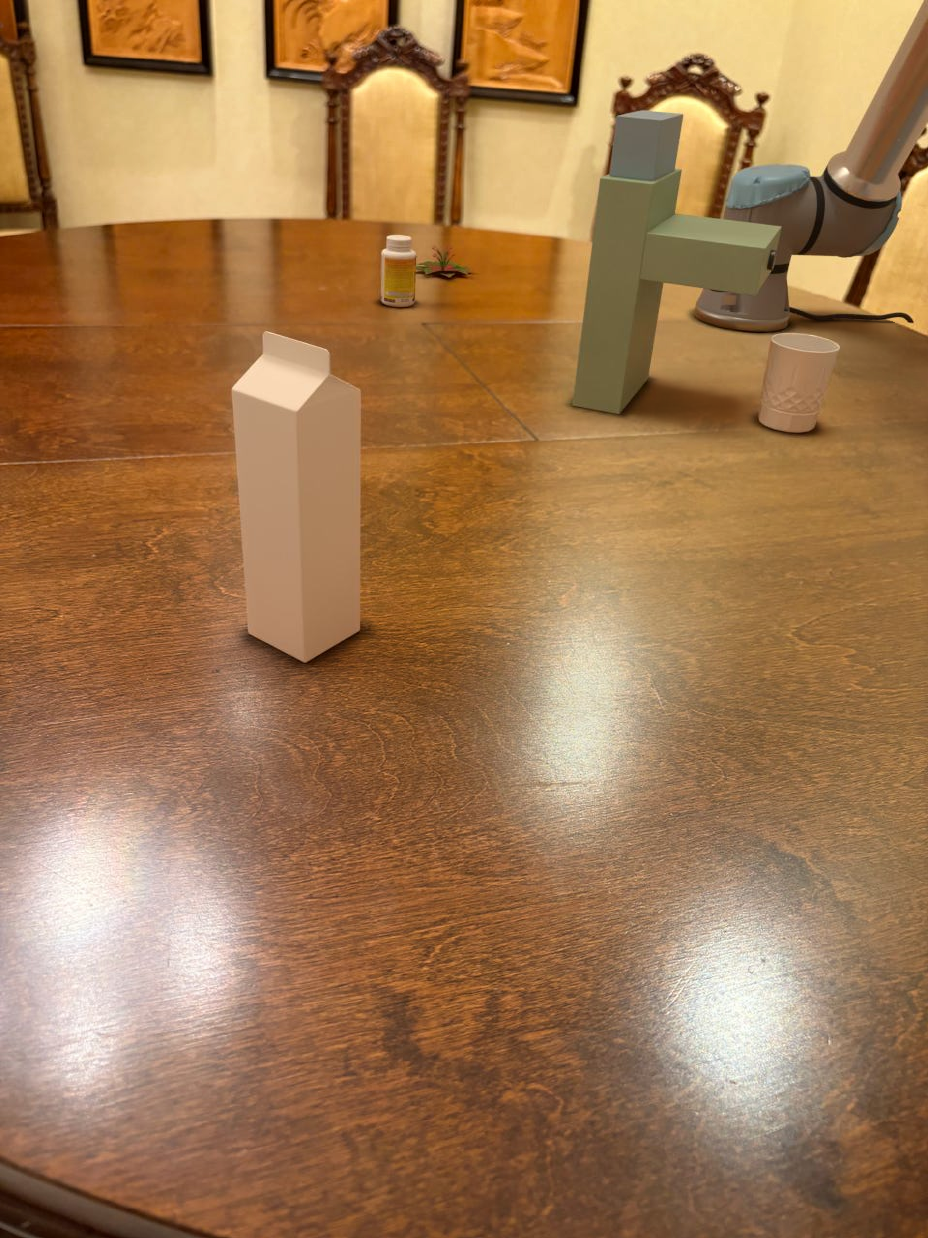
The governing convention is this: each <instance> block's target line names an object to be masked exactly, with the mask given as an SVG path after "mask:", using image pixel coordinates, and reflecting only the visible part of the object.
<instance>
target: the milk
mask: <svg viewBox="0 0 928 1238" xmlns="http://www.w3.org/2000/svg"><path fill="white" fill-rule="evenodd" d="M231 402H232V417H233V418H232V419H233V432H234V447H235V460H236V461H235V463H236V475H237V476H236V478H237V490H238V504H239V516H240V517H239V518H240V519H239V520H240V534H241V549H242V561H243V577H244V579H243V580H244V591H245V592H244V593H245V607H246V620H247V621H246V622H247V632H248V634H249V635H251V636H252V637H255V638H256V639H258V640H260V641H262V642H264V643H266V644H268V645H270V646H272V647H273V648H276V649H277V650H279V651H281V652H283V653H285V654H287V655H289V656H290V657H292V658H295V659H296V660H299V661H301V662H302V663H307V662H309V661H311V660H313V659H315V658H317V656H319V655H321V654H323V653H324V652H326V651H328V650H330V649H331V648H333V647H334V646H337V645H338V644H340V643H342V641H345V640H346V639H348V638H350V637H352V636H353V635H355V634H356V633H358V632H360V630H361V493H362V492H361V488H362V487H361V486H362V485H361V484H362V483H361V481H362V480H361V479H362V478H361V474H362V473H361V471H362V470H361V469H362V466H361V464H362V462H361V460H362V459H361V458H362V455H361V454H362V453H361V451H362V447H361V446H362V443H361V441H362V419H361V418H362V390H361V389H360V388H358V387H357V386H354V385H352V384H351V383H348V382H347V381H345V380H344V379H341V378H339V377H337V376H335V375H333V374H331V354H330V351H329V350H328V349H327V348H323V347H320V346H317V345H314V344H310V343H307V342H303V341H301V340H297V339H293V338H290V337H287V336H284V335H280V334H277V333H274V332H270V331H263V333H262V354H261V355H260V356H259V357H258V359H256V361H255V362H254V363H253V364H252V365H251V366H250V367H249V368H248V370H246V371H245V373H244V374H243V375H242V376H241V378H239V379H238V381H237V382H235V384H234V385H233V386H232V387H231Z"/></svg>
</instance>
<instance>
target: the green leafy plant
mask: <svg viewBox="0 0 928 1238" xmlns="http://www.w3.org/2000/svg"><path fill="white" fill-rule="evenodd" d="M431 249H432V250H433V251H435V252H436V253H437V254H436V253H434V254H432V257H433V258H436V259H437V261H436V260H435V261H430V260H427V261H423V262H420V263H417V265H418V266H417V265H416V271H424V275H425V276H426V275H428V274H429V275H430V274H432V273H436V274H439V275H443V276H446V277H448V278H451V277H452V276H454V275H456V273H457V272H458V273H461V274H463V275H466V276H470V274H469V273H468V271H473V270H476V268H472V267H468V266H460V265H461V264H460V263H458V264H457V263H454V262H450V261H451V259H453V258H454V257H455V256H456V254H455V253H454V254H452V255H451V256H450V257H449V255H450V254H451V252H450V251H451V250H452V249H453V247H450V248H449V246H447V247H446V249H445V250H444V253H443V254H442V252H441V251H440V250H439V249H438V248H437V246H435V245H433V246H431ZM448 257H449V259H448Z"/></svg>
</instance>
